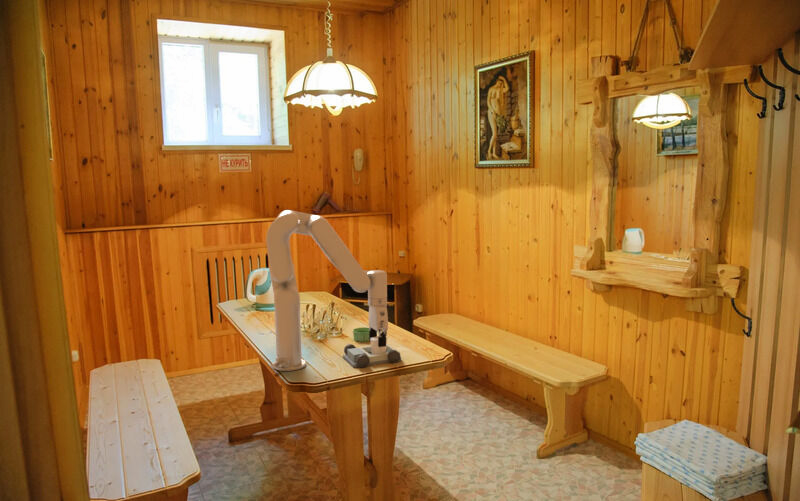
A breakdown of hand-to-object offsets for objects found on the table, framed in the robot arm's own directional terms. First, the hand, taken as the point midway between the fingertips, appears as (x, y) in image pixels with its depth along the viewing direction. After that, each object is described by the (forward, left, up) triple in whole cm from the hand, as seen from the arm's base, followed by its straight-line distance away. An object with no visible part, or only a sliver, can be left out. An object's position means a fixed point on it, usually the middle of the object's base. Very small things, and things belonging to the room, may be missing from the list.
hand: (377, 343), depth 223 cm
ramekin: (+22, +17, -7) cm, 29 cm away
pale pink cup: (0, -1, -5) cm, 5 cm away
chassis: (-2, +2, -6) cm, 7 cm away
